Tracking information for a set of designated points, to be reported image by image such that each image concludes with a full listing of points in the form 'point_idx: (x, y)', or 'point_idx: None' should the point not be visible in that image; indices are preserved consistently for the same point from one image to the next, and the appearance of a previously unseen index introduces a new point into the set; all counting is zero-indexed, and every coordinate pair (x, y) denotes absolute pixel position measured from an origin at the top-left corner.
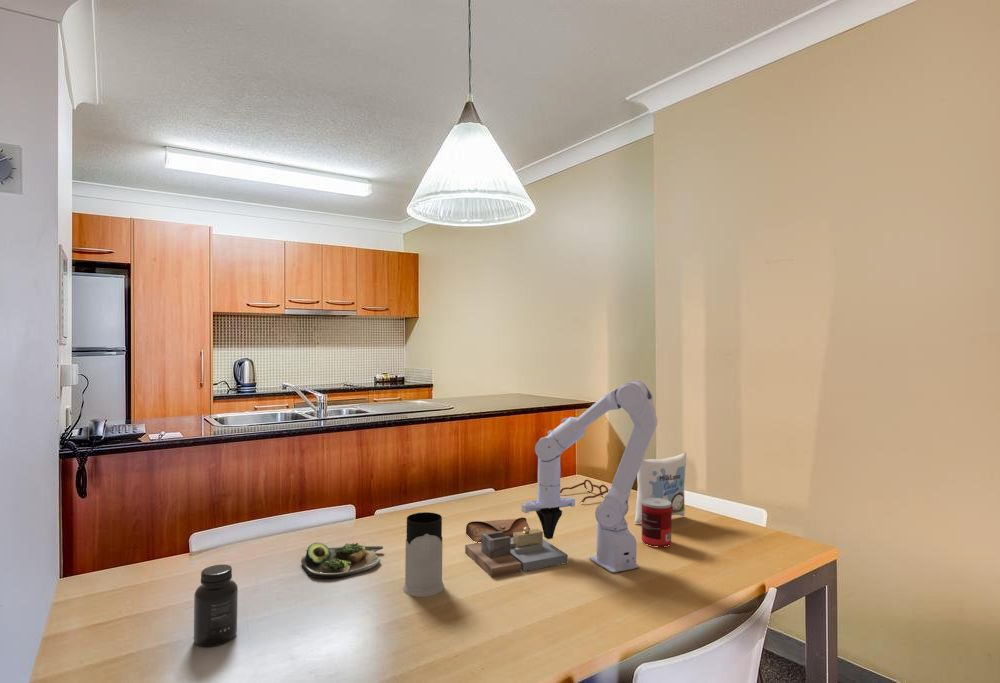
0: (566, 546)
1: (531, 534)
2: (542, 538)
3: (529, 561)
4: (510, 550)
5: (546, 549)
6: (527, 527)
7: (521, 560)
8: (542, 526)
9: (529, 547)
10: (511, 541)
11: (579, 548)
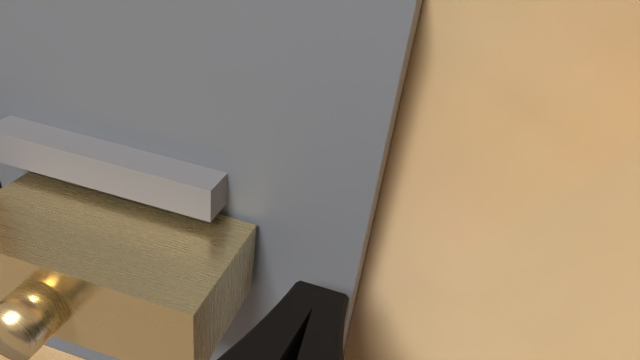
0: (576, 251)
1: (84, 339)
2: (220, 335)
3: (76, 353)
4: None
5: (253, 324)
6: (16, 343)
7: None
8: (242, 346)
9: None
10: (74, 32)
11: (623, 337)
